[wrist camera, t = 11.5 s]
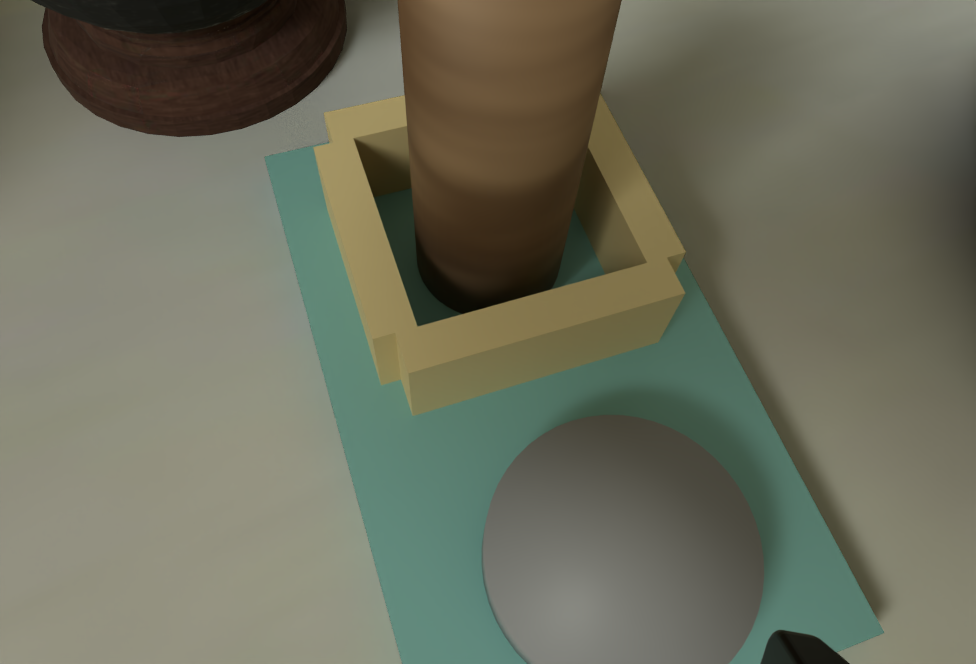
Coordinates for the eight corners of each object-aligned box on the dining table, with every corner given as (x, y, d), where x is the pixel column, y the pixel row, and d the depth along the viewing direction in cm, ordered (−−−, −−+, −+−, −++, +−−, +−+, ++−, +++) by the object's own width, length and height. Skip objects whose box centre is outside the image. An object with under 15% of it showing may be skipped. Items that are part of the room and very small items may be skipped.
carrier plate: (865, 636, 21) (952, 617, 17) (442, 807, 19) (442, 827, 15) (585, 103, 29) (605, 16, 26) (270, 175, 27) (243, 91, 23)
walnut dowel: (582, 296, 24) (700, -105, 13) (441, 335, 23) (430, -56, 12) (531, 183, 26) (593, -252, 15) (399, 216, 25) (356, -219, 14)
